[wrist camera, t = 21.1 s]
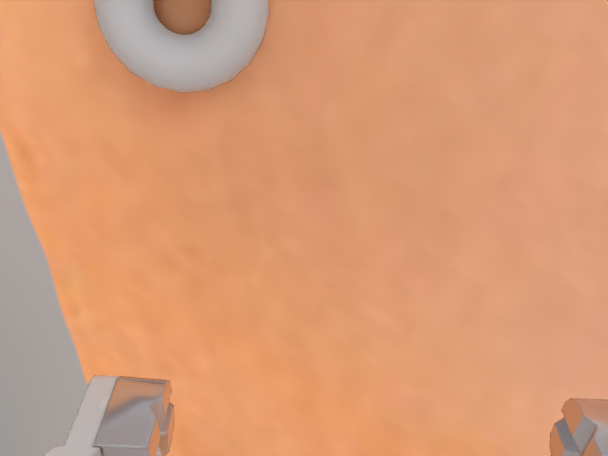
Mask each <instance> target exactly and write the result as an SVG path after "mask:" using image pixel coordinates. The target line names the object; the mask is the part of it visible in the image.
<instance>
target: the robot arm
mask: <svg viewBox="0 0 608 456" xmlns="http://www.w3.org/2000/svg"><path fill="white" fill-rule="evenodd" d="M171 392H172V389H171V382H170V380H163V379H149V378H136V377H123V376H105V375H94V377H93V378H92V379H91V380H90V382H89V384H88V386H87V389H86V391H85V393H84V396H83V399H82V401H81V403H80V406H79V408H78V411H77V413H76V416H75V418H74V421H73V423H72V426H71V428H70V431H69V433H68V435H67V438H66V441H65V443H64V445H59V446H58V445H56V446H55V447H53V448H52V449H51V450H50V451H48V452H47V453H46V454H45V455H44V456H166V455H167V454H168V453H169V452H170V447H171V443H172V437H173V429H174V405H173V404H171V403H170V402H169V401H170V397H171ZM561 410H562V412H563V415H564V418H563V419H561V420H559V421H558V422H556V423H555V424H554V426H553V429H552V431H551V433H550V452H551V456H608V400H603V399H574V398H570V399H569V400H567V401H566V402H565V403H564V405H563V407H562V409H561Z"/></svg>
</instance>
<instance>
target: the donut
mask: <svg viewBox="0 0 608 456" xmlns="http://www.w3.org/2000/svg"><path fill="white" fill-rule="evenodd" d="M93 1H94V6H95V12H96V17H97V22H98V26H99V28H100V30H101V32H102V34H103V36H104V38H105V40H106V42H107V44H108V46H109V48H110V50H111V52H112V53H113V54H114V55H115V56H116V57H117V58H118V59H119V60H120V61H121V62H122V63H123V64H124V65H125V66H126V67H127V69H128V70H129V71H130V72H131V73H133V74H135V75H136V76H138V77H140V78H142V79H143V80H145V81H147V82H149V83H150V84H152V85H154V86H156V87H160V88H165V89H169V90H174V91H178V92H193V91H204V90H209V89H212V88H214V87H216V86H218V85H221V84H223V83H225V82H227V81H230V80H232V79H233V78H234V77H235V76H236V75H237V74H238V73H239V72H240V71H241V70H242V69H244V68H245V67H246V66H247V65H248V64H249V63H250V62H251V60H252V58H253V57H254V55H255V53H256V51H257V49H258V48H259V46H260V44H261V42H262V40H263V38H264V33H265V28H266V23H267V19H268V14H269V7H268V0H211V12H210V17H209V19H208V20H207V22H206V24H205V25H204V26H203V27H202V28H201V29H200V30H199V31H197V32H194V33H192V34H185V35H181V34H177V33H173V32H172V31H170V30H168V29H167V28H165V27H164V26H163V25H162V23H161V22H160V21H159V19H158V17H157V15H156V13H155V9H154V3H153V1H154V0H93Z"/></svg>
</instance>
